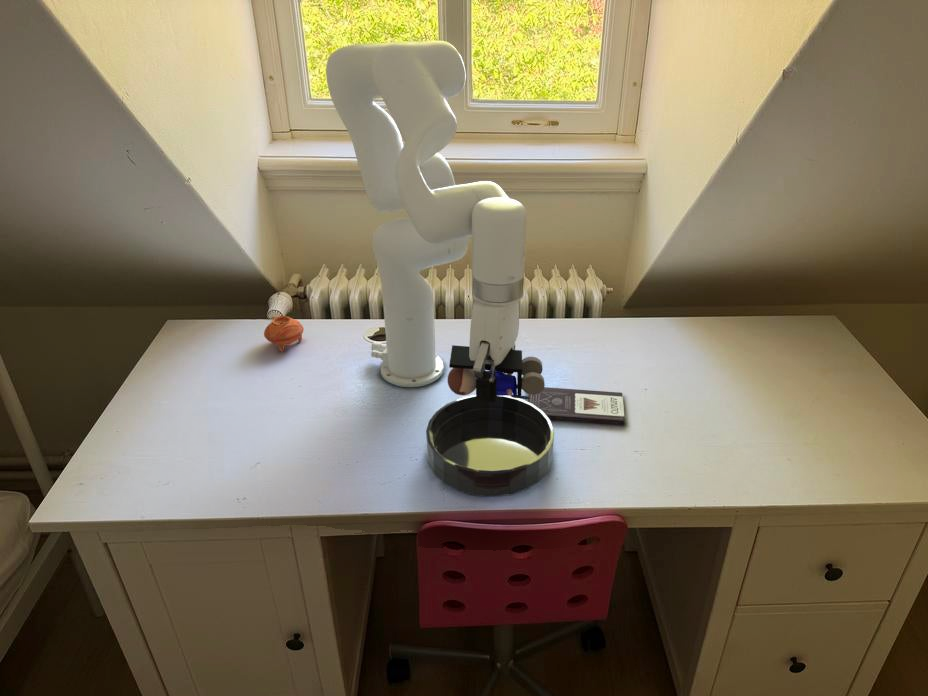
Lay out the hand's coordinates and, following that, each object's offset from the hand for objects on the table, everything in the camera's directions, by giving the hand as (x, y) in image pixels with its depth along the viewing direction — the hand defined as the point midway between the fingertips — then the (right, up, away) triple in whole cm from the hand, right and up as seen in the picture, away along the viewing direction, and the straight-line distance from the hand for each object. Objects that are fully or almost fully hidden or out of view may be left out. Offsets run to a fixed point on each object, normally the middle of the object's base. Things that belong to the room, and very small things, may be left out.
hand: (495, 384), depth 110 cm
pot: (-45, +8, +36) cm, 58 cm away
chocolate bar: (+15, -4, +21) cm, 26 cm away
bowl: (-1, -12, +8) cm, 15 cm away
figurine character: (0, -1, +1) cm, 2 cm away
